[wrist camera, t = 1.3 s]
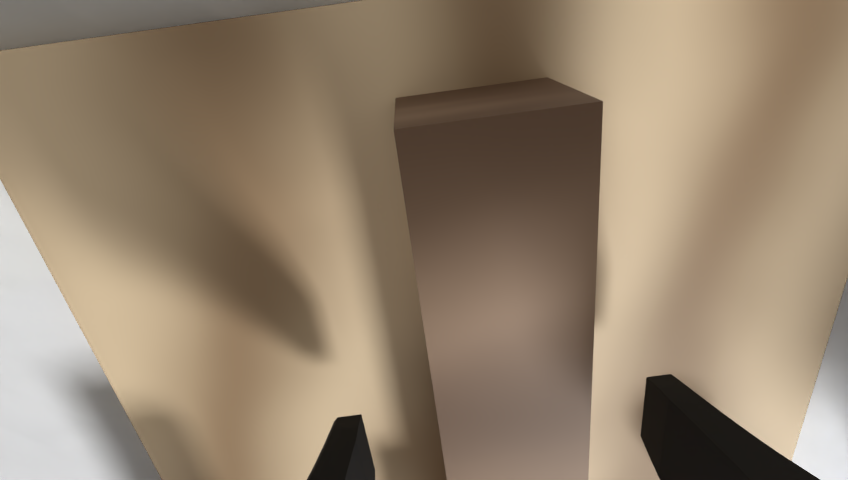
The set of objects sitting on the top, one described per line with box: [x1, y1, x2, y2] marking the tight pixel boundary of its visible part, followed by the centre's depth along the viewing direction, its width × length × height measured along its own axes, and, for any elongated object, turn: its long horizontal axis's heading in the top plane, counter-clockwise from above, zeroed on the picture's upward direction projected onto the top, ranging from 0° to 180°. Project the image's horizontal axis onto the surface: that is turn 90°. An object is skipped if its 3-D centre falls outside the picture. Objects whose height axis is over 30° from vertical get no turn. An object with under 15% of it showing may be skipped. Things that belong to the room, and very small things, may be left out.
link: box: [394, 77, 603, 480], centre depth 13 cm, size 19×5×3 cm, turn 7°
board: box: [0, 0, 848, 480], centre depth 15 cm, size 21×23×1 cm
